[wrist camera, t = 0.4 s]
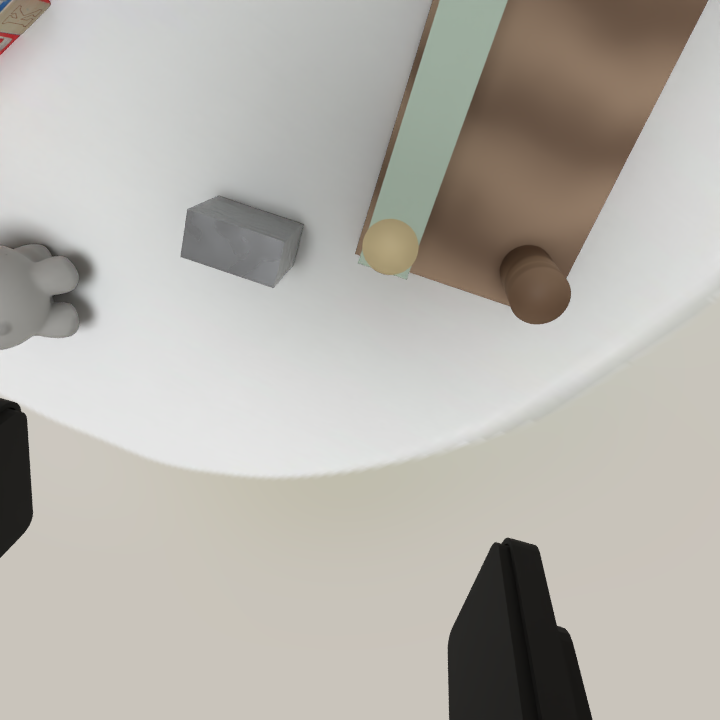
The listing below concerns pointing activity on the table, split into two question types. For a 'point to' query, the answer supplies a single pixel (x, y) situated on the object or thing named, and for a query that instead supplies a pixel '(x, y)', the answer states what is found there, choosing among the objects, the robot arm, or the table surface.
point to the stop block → (241, 240)
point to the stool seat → (543, 143)
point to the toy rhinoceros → (35, 295)
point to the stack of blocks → (18, 18)
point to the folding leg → (429, 131)
